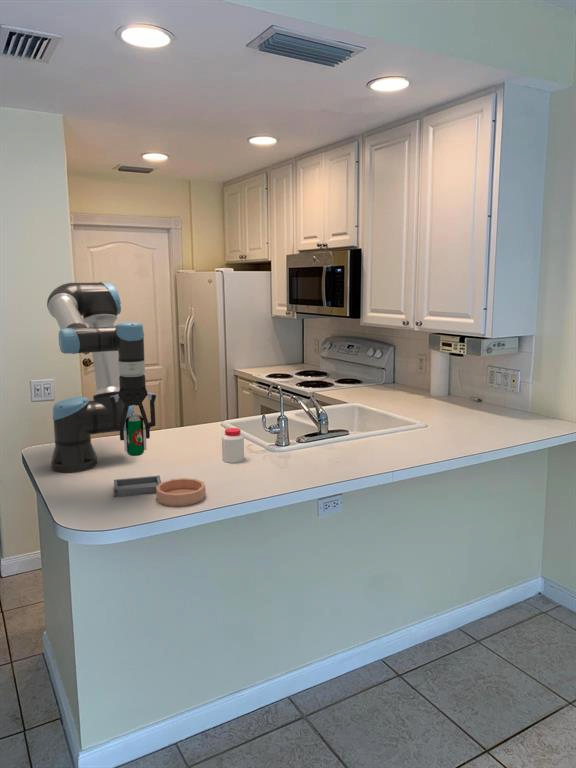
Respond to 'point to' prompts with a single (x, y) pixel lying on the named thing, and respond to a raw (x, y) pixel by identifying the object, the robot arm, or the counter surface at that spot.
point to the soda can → (134, 435)
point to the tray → (136, 486)
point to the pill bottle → (232, 446)
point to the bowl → (180, 492)
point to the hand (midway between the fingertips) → (135, 449)
